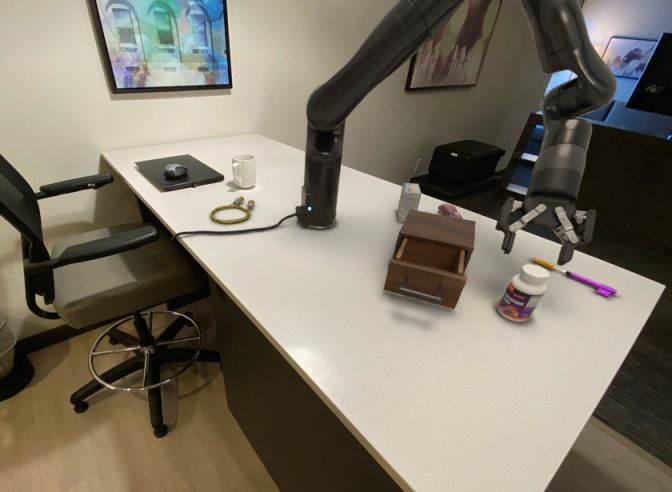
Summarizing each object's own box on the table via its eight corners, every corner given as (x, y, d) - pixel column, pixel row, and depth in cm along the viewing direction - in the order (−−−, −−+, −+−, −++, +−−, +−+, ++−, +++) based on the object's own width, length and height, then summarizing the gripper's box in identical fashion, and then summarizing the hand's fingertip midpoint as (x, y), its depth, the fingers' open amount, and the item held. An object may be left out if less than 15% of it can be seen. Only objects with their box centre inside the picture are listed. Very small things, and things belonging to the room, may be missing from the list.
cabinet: (459, 283, 69) (474, 248, 64) (390, 266, 75) (398, 232, 69) (463, 253, 79) (475, 221, 74) (401, 240, 84) (409, 209, 79)
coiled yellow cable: (269, 212, 97) (268, 206, 96) (224, 228, 88) (223, 221, 87) (244, 200, 104) (243, 194, 103) (200, 214, 95) (199, 207, 94)
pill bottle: (489, 306, 63) (510, 264, 58) (511, 301, 65) (534, 260, 59) (512, 325, 59) (537, 282, 53) (535, 319, 61) (562, 276, 55)
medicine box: (414, 223, 92) (422, 193, 87) (398, 222, 93) (405, 192, 88) (411, 212, 98) (419, 183, 93) (396, 210, 99) (402, 182, 94)
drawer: (452, 327, 57) (465, 297, 53) (376, 305, 62) (383, 275, 58) (458, 275, 70) (469, 248, 66) (395, 260, 75) (402, 233, 71)
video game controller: (437, 222, 96) (433, 202, 92) (453, 216, 95) (449, 195, 91) (454, 239, 88) (450, 217, 84) (471, 231, 87) (467, 210, 83)
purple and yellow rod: (616, 293, 67) (533, 259, 77) (619, 289, 66) (534, 255, 77) (609, 300, 66) (526, 264, 77) (612, 296, 65) (528, 261, 76)
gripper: (519, 160, 60) (495, 243, 58) (616, 172, 55) (593, 263, 53) (505, 180, 67) (484, 255, 65) (591, 192, 62) (570, 273, 60)
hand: (533, 258), depth 59 cm, fingers open, 8 cm apart
